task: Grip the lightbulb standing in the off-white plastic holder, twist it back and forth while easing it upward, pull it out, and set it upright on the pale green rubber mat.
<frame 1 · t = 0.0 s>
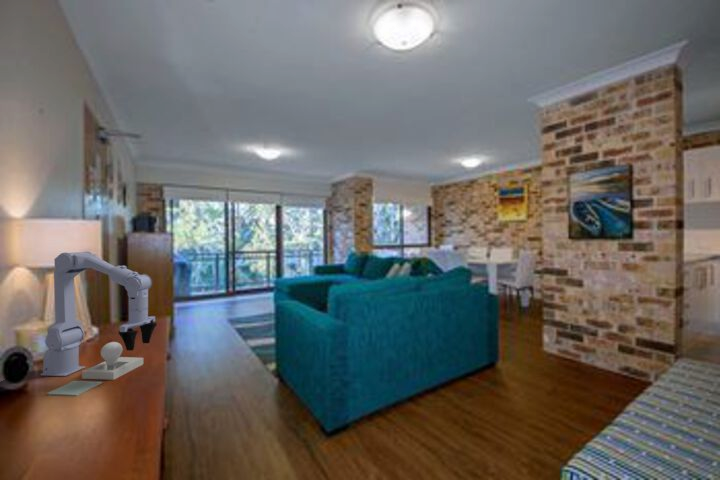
hand: (138, 346, 116), 10 cm above the sideboard, tool pointing down, fingers open, 7 cm apart
bulb holder: (111, 372, 118), on the sideboard
mat: (75, 388, 105), on the sideboard
lightbulb: (111, 372, 118), resting in bulb holder
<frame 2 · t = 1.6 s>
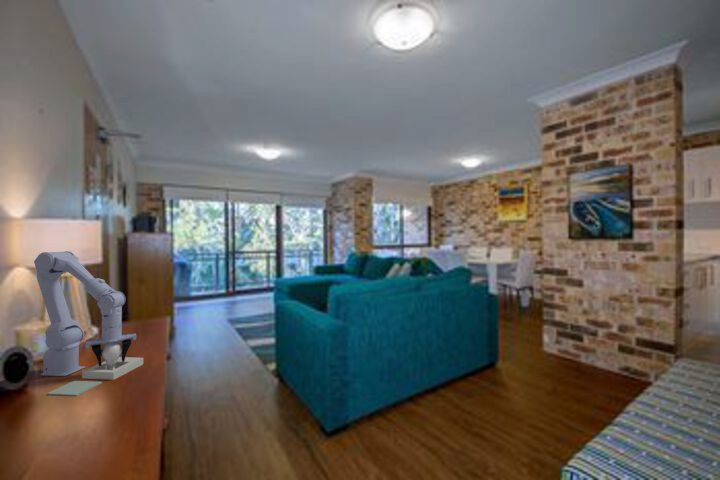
hand: (111, 363, 118), 3 cm above the sideboard, tool pointing down, fingers closed on lightbulb, 6 cm apart
lightbulb: (111, 372, 118), resting in bulb holder, touching gripper
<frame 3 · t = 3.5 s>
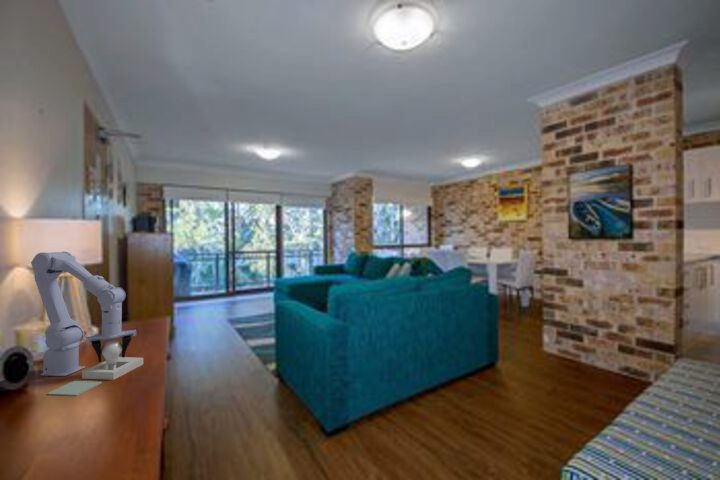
hand: (111, 358, 118), 5 cm above the sideboard, tool pointing down, fingers closed on lightbulb, 6 cm apart
lightbulb: (112, 371, 118), resting in bulb holder, touching gripper
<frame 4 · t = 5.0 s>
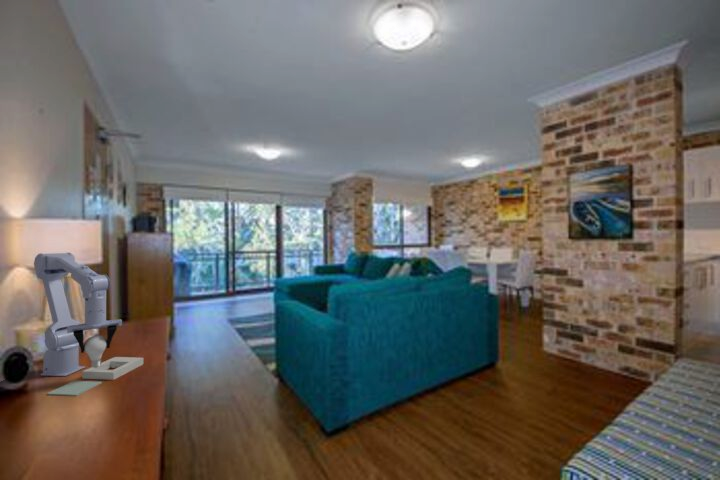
hand: (95, 349, 112), 10 cm above the sideboard, tool pointing down, fingers closed on lightbulb, 6 cm apart
lightbulb: (96, 367, 112), point 4 cm above the sideboard, touching gripper
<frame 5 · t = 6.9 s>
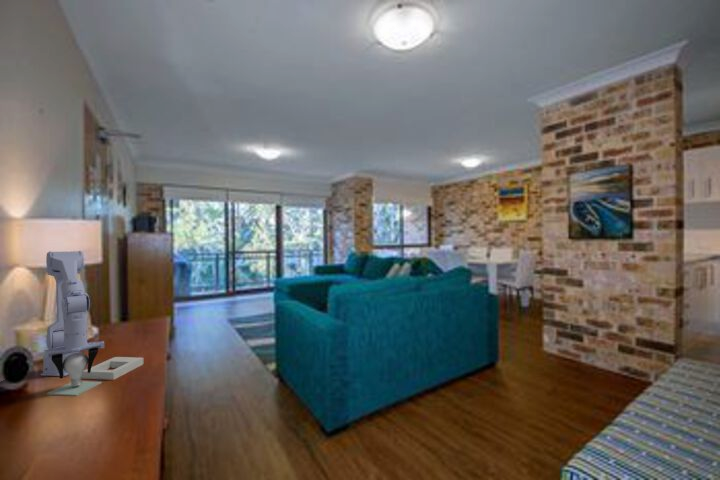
hand: (75, 374, 105), 5 cm above the sideboard, tool pointing down, fingers closed on lightbulb, 6 cm apart
lightbulb: (76, 387, 106), resting on mat, touching gripper
when the fingers open (5 cm above the sideboard, at t = 7.2 s): lightbulb stays where it is, resting on mat.
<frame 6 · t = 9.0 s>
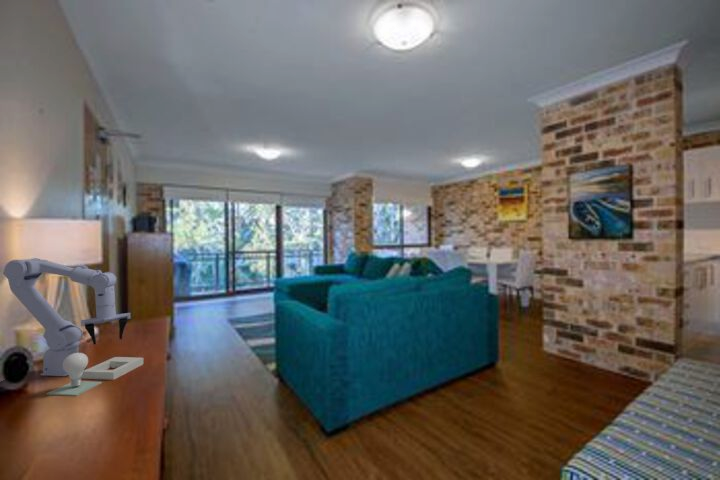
hand: (107, 341, 121), 10 cm above the sideboard, tool pointing down, fingers open, 7 cm apart
lightbulb: (76, 386, 106), resting on mat
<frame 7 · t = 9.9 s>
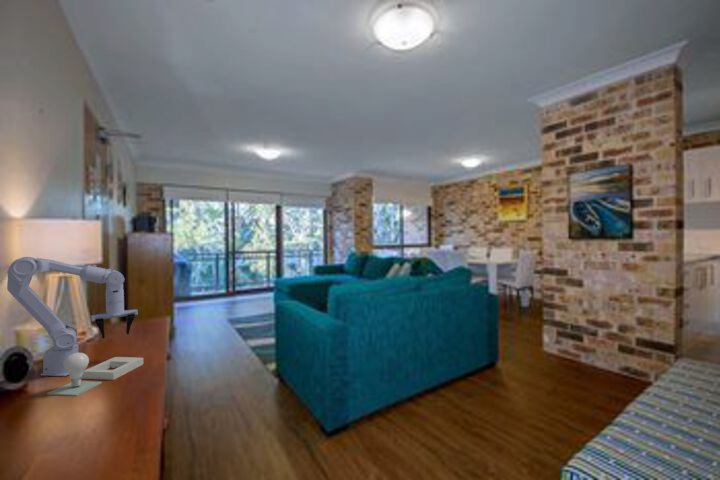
hand: (115, 335, 128), 10 cm above the sideboard, tool pointing down, fingers open, 7 cm apart
nothing on the sideboard moved.
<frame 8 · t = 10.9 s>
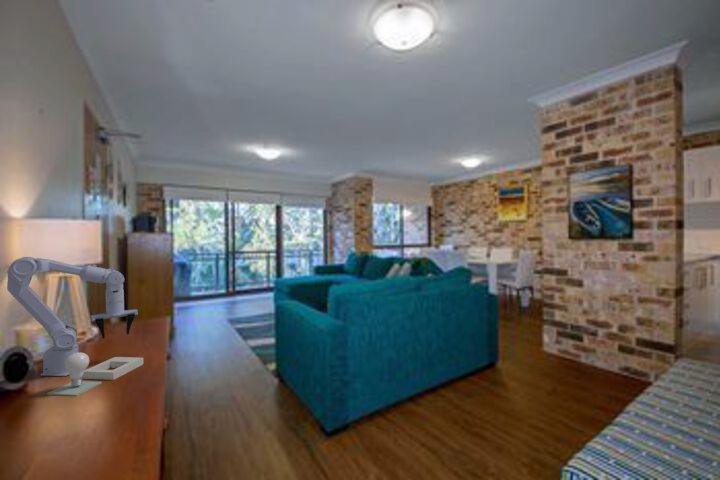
hand: (115, 335, 128), 10 cm above the sideboard, tool pointing down, fingers open, 7 cm apart
nothing on the sideboard moved.
at the end: lightbulb 0.6 cm off-centre on the mat, point 0.2 cm above the mat's base; lightbulb tilted 0°; the gripper is holding nothing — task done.
